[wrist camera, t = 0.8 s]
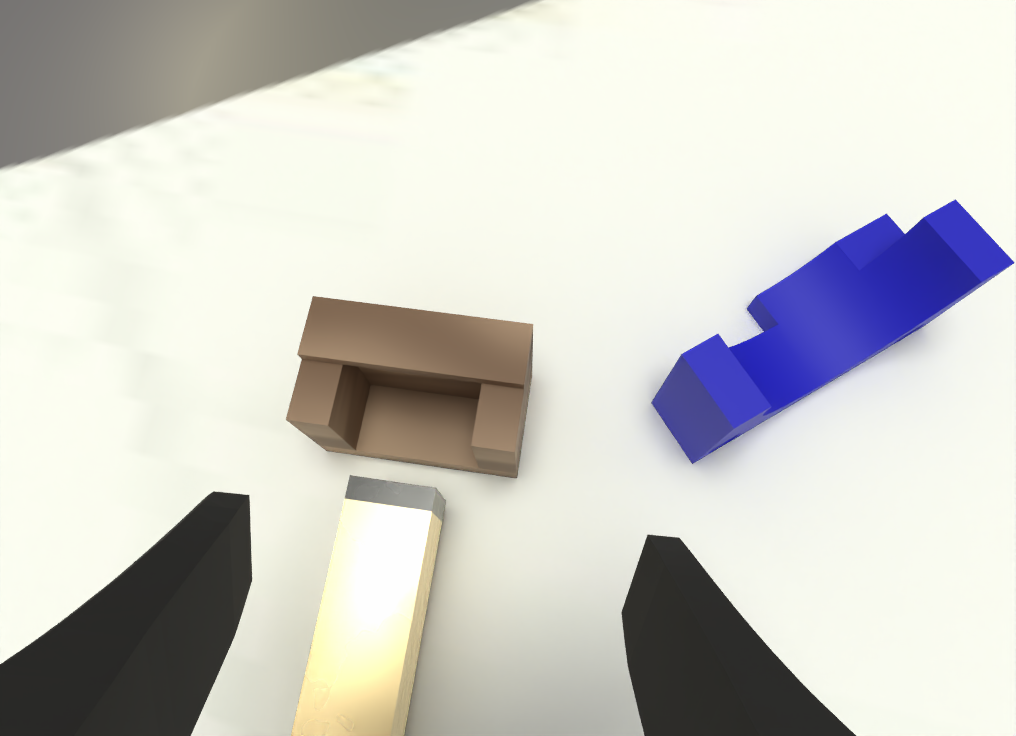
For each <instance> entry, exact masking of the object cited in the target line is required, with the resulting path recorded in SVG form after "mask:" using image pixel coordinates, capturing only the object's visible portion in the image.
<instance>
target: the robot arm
mask: <svg viewBox="0 0 1016 736" xmlns="http://www.w3.org/2000/svg"><path fill="white" fill-rule="evenodd" d="M251 582H252V563H251V532H250V500H249V495H243V494H233V493H223V492H212V493H211V494H209V495H208V496H207V497H206V498H205V499H203V500H202V501H201V502H200V503H199V504H198V505H197V506H196V507H195V508H194V509H193V510H192V511H191V512H190V513H189V514H187V515H186V516H185V517H184V518H183V519H182V520H181V521H180V522H179V523H178V524H177V525H176V526H175V527H174V528H172V529H171V530H170V531H169V532H168V533H167V534H166V535H165V536H164V537H163V538H161V539H160V540H159V541H158V542H157V543H156V544H155V545H154V546H153V547H151V548H150V549H149V550H148V551H147V552H146V553H145V554H143V555H142V556H141V557H140V558H139V559H138V560H136V561H135V562H134V563H133V564H132V565H131V566H129V567H128V568H127V569H126V570H125V571H124V572H123V573H121V574H120V575H119V576H118V577H117V578H115V579H114V580H113V581H112V582H111V583H109V584H108V585H107V586H106V587H104V588H103V589H102V590H101V591H99V592H98V593H97V594H96V595H94V596H93V597H92V598H90V599H89V600H88V601H87V602H85V603H84V604H83V605H82V606H80V607H79V608H78V609H77V610H75V611H74V612H73V613H71V614H70V615H69V616H68V617H66V618H65V619H64V620H62V621H61V622H60V623H58V624H57V625H56V626H54V627H53V628H52V629H50V630H49V631H47V632H46V633H45V634H43V635H42V636H41V637H39V638H38V639H36V640H35V641H34V642H32V643H31V644H29V645H28V646H26V647H25V648H24V649H22V650H21V651H19V652H18V653H16V654H15V655H13V656H12V657H10V658H9V659H7V660H6V661H5V662H3V663H2V664H0V736H191V734H192V731H193V729H194V727H195V725H196V722H197V720H198V718H199V716H200V713H201V711H202V709H203V707H204V704H205V702H206V700H207V698H208V696H209V693H210V691H211V689H212V687H213V684H214V682H215V680H216V678H217V675H218V673H219V671H220V668H221V666H222V664H223V662H224V659H225V657H226V655H227V653H228V650H229V648H230V646H231V643H232V641H233V639H234V636H235V633H236V630H237V627H238V624H239V621H240V618H241V615H242V612H243V608H244V605H245V602H246V598H247V595H248V592H249V589H250V585H251ZM622 620H623V630H624V639H625V647H626V655H627V662H628V668H629V673H630V677H631V681H632V686H633V690H634V694H635V698H636V702H637V706H638V711H639V715H640V719H641V723H642V727H643V731H644V735H645V736H856V735H855V734H854V733H853V732H852V731H850V730H849V729H848V728H847V727H846V726H845V725H844V724H843V723H842V722H841V721H840V720H839V719H838V718H837V717H836V716H835V715H834V714H833V713H832V712H831V711H829V710H828V709H827V708H826V707H825V706H824V705H823V704H822V703H821V702H820V701H819V700H818V699H817V698H816V697H815V696H814V695H813V694H812V693H811V692H810V691H809V690H808V689H807V688H806V687H805V686H804V685H803V684H802V683H801V682H800V681H799V680H798V679H797V678H796V676H795V675H794V674H793V673H792V672H791V671H790V670H789V669H788V668H787V667H786V666H785V665H784V663H783V662H782V661H781V660H780V659H779V658H778V657H777V656H776V655H775V654H774V653H773V652H772V650H771V649H770V648H769V647H768V646H767V645H766V644H765V642H764V641H763V640H762V639H761V638H760V637H759V636H758V634H757V633H756V632H755V631H754V630H753V629H752V627H751V626H750V625H749V624H748V623H747V622H746V620H745V619H744V618H743V617H742V616H741V614H740V613H739V612H738V611H737V610H736V608H735V607H734V606H733V605H732V603H731V602H730V601H729V600H728V598H727V597H726V596H725V595H724V593H723V592H722V591H721V590H720V588H719V587H718V586H717V585H716V583H715V582H714V581H713V580H712V578H711V577H710V576H709V575H708V573H707V572H706V571H705V569H704V568H703V567H702V566H701V564H700V563H699V562H698V561H697V559H696V558H695V557H694V555H693V554H692V553H691V552H690V550H689V549H688V548H687V547H686V545H685V544H684V543H683V542H682V540H681V539H680V538H676V537H666V536H656V535H647V538H646V541H645V544H644V547H643V550H642V553H641V556H640V559H639V562H638V565H637V568H636V571H635V574H634V577H633V580H632V583H631V586H630V589H629V592H628V595H627V598H626V601H625V604H624V607H623V609H622Z"/></svg>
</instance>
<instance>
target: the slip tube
mask: <svg viewBox="0 0 1016 736" xmlns="http://www.w3.org/2000/svg"><path fill="white" fill-rule="evenodd" d="M445 503H446V500H445V499H444V498H443V496H442V495H441V494H440V493H439V491H438V490H437V489H436V488H432V487H426V486H419V485H412V484H405V483H398V482H392V481H385V480H378V479H371V478H364V477H358V476H351V475H350V478H349V482H348V486H347V491H346V495H345V500H344V504H343V509H342V513H341V517H340V522H339V526H338V531H337V535H336V539H335V544H334V548H333V553H332V557H331V561H330V566H329V570H328V575H327V579H326V583H325V588H324V592H323V597H322V601H321V606H320V610H319V614H318V619H317V623H316V628H315V632H314V636H313V641H312V645H311V650H310V654H309V658H308V663H307V667H306V672H305V676H304V681H303V685H302V689H301V694H300V698H299V703H298V707H297V711H296V716H295V720H294V725H293V729H292V733H291V736H404V733H405V728H406V722H407V716H408V711H409V705H410V700H411V694H412V688H413V683H414V677H415V671H416V666H417V660H418V655H419V649H420V643H421V638H422V632H423V626H424V621H425V615H426V610H427V604H428V598H429V593H430V587H431V582H432V576H433V570H434V565H435V559H436V553H437V548H438V542H439V537H440V531H441V525H442V520H443V514H444V508H445Z"/></svg>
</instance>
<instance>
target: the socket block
mask: <svg viewBox="0 0 1016 736" xmlns="http://www.w3.org/2000/svg"><path fill="white" fill-rule="evenodd" d="M532 352H533V324H527V323H519V322H511V321H503V320H496V319H488V318H480V317H472V316H464V315H456V314H448V313H441V312H433V311H425V310H417V309H409V308H401V307H393V306H386V305H378V304H370V303H362V302H354V301H346V300H339V299H331V298H323V297H315V296H313V298H312V302H311V305H310V309H309V313H308V317H307V320H306V324H305V328H304V332H303V335H302V339H301V343H300V346H299V350H298V355H299V356H300V358H301V359H302V361H301V365H300V368H299V372H298V376H297V380H296V383H295V387H294V391H293V395H292V398H291V402H290V406H289V410H288V414H287V417H286V420H287V421H288V422H290V423H291V424H292V425H294V426H295V427H296V428H297V429H299V430H300V431H301V432H303V433H304V434H305V435H307V436H308V437H309V438H311V439H312V440H313V441H315V442H316V443H317V444H318V445H320V446H321V447H322V448H324V449H325V450H326V451H332V452H339V453H346V454H353V455H360V456H367V457H374V458H381V459H388V460H395V461H402V462H409V463H415V464H422V465H429V466H436V467H443V468H450V469H457V470H464V471H471V472H478V473H485V474H492V475H498V476H505V477H512V478H517V474H518V467H519V460H520V454H521V447H522V440H523V433H524V426H525V419H526V412H527V405H528V399H529V392H530V385H531V378H532Z"/></svg>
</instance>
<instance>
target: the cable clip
mask: <svg viewBox="0 0 1016 736" xmlns="http://www.w3.org/2000/svg"><path fill="white" fill-rule="evenodd" d="M1012 264H1014V262H1013V260H1012V259H1011V258H1010V257H1009V256H1008V255H1007V254H1006V253H1005V252H1004V251H1003V250H1002V249H1001V248H1000V247H999V245H998V244H997V243H996V242H995V241H994V240H993V239H992V238H991V237H990V236H989V235H988V234H987V233H986V232H985V230H984V229H983V228H982V227H981V226H980V225H979V224H978V223H977V222H976V221H975V220H974V219H973V218H972V217H971V215H970V214H969V213H968V212H967V211H966V210H965V209H964V208H963V207H962V206H961V205H960V204H959V203H958V202H957V200H956V199H955V200H954V201H952V202H950V203H948V204H947V205H945V206H943V207H941V208H940V209H938V210H936V211H934V212H932V213H931V214H929V215H927V216H925V217H924V218H922V219H921V220H920V221H919V222H918V223H917V224H916V225H915V226H914V227H913V228H912V229H911V230H909V231H908V232H907V233H906V234H904V233H903V231H902V230H901V229H900V228H899V227H898V226H897V225H896V224H895V222H894V221H893V220H892V219H891V218H890V217H889V216H888V215H887V214H885V215H883V216H882V217H880V218H878V219H876V220H874V221H873V222H871V223H869V224H867V225H865V226H864V227H862V228H860V229H858V230H857V231H855V232H853V233H851V234H849V235H848V236H846V237H844V238H842V239H840V240H839V241H837V242H835V243H834V244H833V245H831V246H830V247H829V248H827V249H826V250H825V251H823V252H822V253H821V254H819V255H818V256H817V257H815V258H814V259H813V260H811V261H810V262H808V263H807V264H806V265H804V266H803V267H801V268H800V269H798V270H797V271H795V272H794V273H793V274H791V275H790V276H788V277H786V278H785V279H783V280H782V281H780V282H779V283H777V284H775V285H774V286H772V287H771V288H769V289H767V290H766V291H764V292H762V293H760V294H759V295H757V296H756V297H755V298H754V300H753V301H752V302H751V304H750V305H749V306H748V308H747V310H748V311H749V313H750V314H751V315H752V316H753V318H754V319H755V320H756V322H757V323H758V324H759V326H760V327H761V328H762V330H763V331H764V332H763V333H761V334H759V335H757V336H755V337H753V338H751V339H749V340H747V341H744V342H742V343H740V344H737V345H735V346H732V347H729V348H728V347H727V345H726V344H725V342H724V341H723V340H722V338H721V337H720V336H719V334H716V335H715V336H713V337H711V338H709V339H708V340H706V341H704V342H702V343H701V344H699V345H697V346H695V347H693V348H692V349H690V350H688V351H686V352H685V353H683V354H681V356H680V358H679V359H678V361H677V362H676V364H675V366H674V367H673V369H672V370H671V372H670V374H669V375H668V377H667V378H666V380H665V382H664V383H663V385H662V386H661V388H660V390H659V391H658V393H657V394H656V396H655V398H654V399H653V401H652V402H651V403H652V404H653V406H654V407H655V409H656V410H657V412H658V413H659V415H660V416H661V418H662V419H663V421H664V422H665V424H666V425H667V427H668V428H669V430H670V431H671V433H672V434H673V436H674V437H675V439H676V440H677V442H678V443H679V445H680V446H681V448H682V449H683V451H684V452H685V454H686V455H687V457H688V458H689V460H690V461H691V463H692V464H693V463H695V462H696V461H698V460H700V459H701V458H703V457H705V456H706V455H708V454H710V453H711V452H713V451H715V450H717V449H718V448H720V447H722V446H723V445H725V444H727V443H728V442H730V441H732V440H733V439H735V438H737V437H738V436H740V435H742V434H743V433H745V432H747V431H748V430H750V429H752V428H754V427H755V426H757V425H759V424H760V423H762V422H764V421H765V420H767V419H769V418H770V417H772V416H774V415H775V414H777V413H779V412H780V411H782V410H784V409H785V408H787V407H789V406H791V405H792V404H794V403H796V402H797V401H799V400H801V399H802V398H804V397H806V396H807V395H809V394H811V393H812V392H814V391H816V390H817V389H819V388H821V387H822V386H824V385H826V384H828V383H829V382H831V381H833V380H834V379H836V378H838V377H839V376H841V375H843V374H844V373H846V372H848V371H849V370H851V369H853V368H854V367H856V366H858V365H859V364H861V363H863V362H865V361H866V360H868V359H870V358H871V357H873V356H875V355H876V354H878V353H880V352H881V351H883V350H885V349H886V348H888V347H890V346H891V345H893V344H895V343H897V342H898V341H900V340H902V339H903V338H905V337H907V336H908V335H910V334H912V333H913V332H915V331H917V330H918V329H920V328H922V327H923V326H925V325H926V324H928V323H929V322H930V321H932V320H933V319H935V318H936V317H938V316H939V315H940V314H942V313H943V312H945V311H946V310H948V309H949V308H951V307H952V306H953V305H955V304H956V303H958V302H959V301H961V300H962V299H963V298H965V297H966V296H968V295H969V294H971V293H972V292H973V291H975V290H976V289H978V288H979V287H981V286H982V285H984V284H985V283H986V282H988V281H989V280H991V279H992V278H994V277H995V276H996V275H998V274H999V273H1001V272H1002V271H1004V270H1005V269H1006V268H1008V267H1009V266H1011V265H1012Z"/></svg>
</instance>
